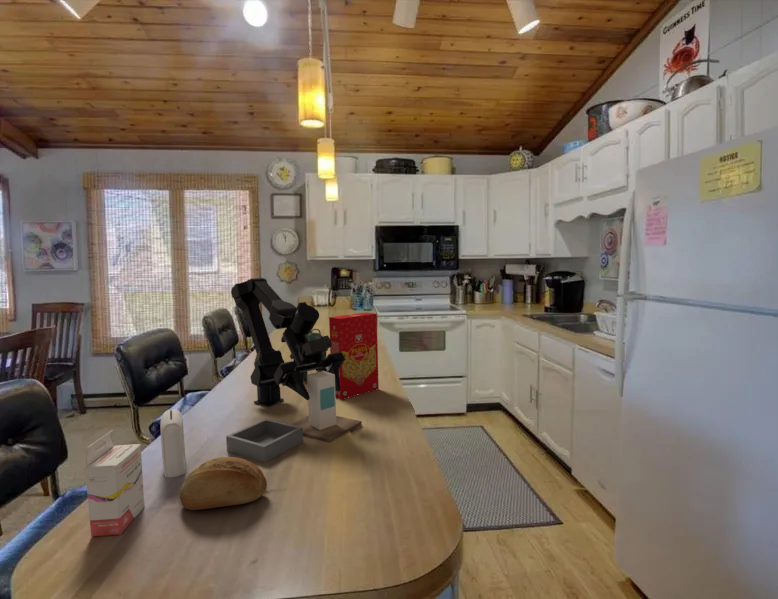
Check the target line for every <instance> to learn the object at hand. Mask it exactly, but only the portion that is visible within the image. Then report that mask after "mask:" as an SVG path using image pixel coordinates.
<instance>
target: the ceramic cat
mask: <svg viewBox="0 0 778 599" xmlns="http://www.w3.org/2000/svg"><path fill="white" fill-rule="evenodd" d="M313 331H318V332H313ZM306 335H307V337H308V339H309V341H311V340H316V339H320V338H321V337H322V336H323V335H322V334H321V330H320V329H318V328H313V329H312V330H311V332H310V333H309V334H306ZM322 354H323V356H322V357H321V358H319V360H320V361H322V360H325V359H326V357H327V351H324V352H323V353H322ZM292 361H293V362H295V360H294V359H292ZM295 363H296V362H295ZM296 365H297V364H296ZM322 369H323V368H320V369H318V370H317V371H323V370H322ZM308 373H309V371H306V372H302V373H300V376H301V380H304V381H305V379H306V380H307V375H308Z"/></svg>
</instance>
